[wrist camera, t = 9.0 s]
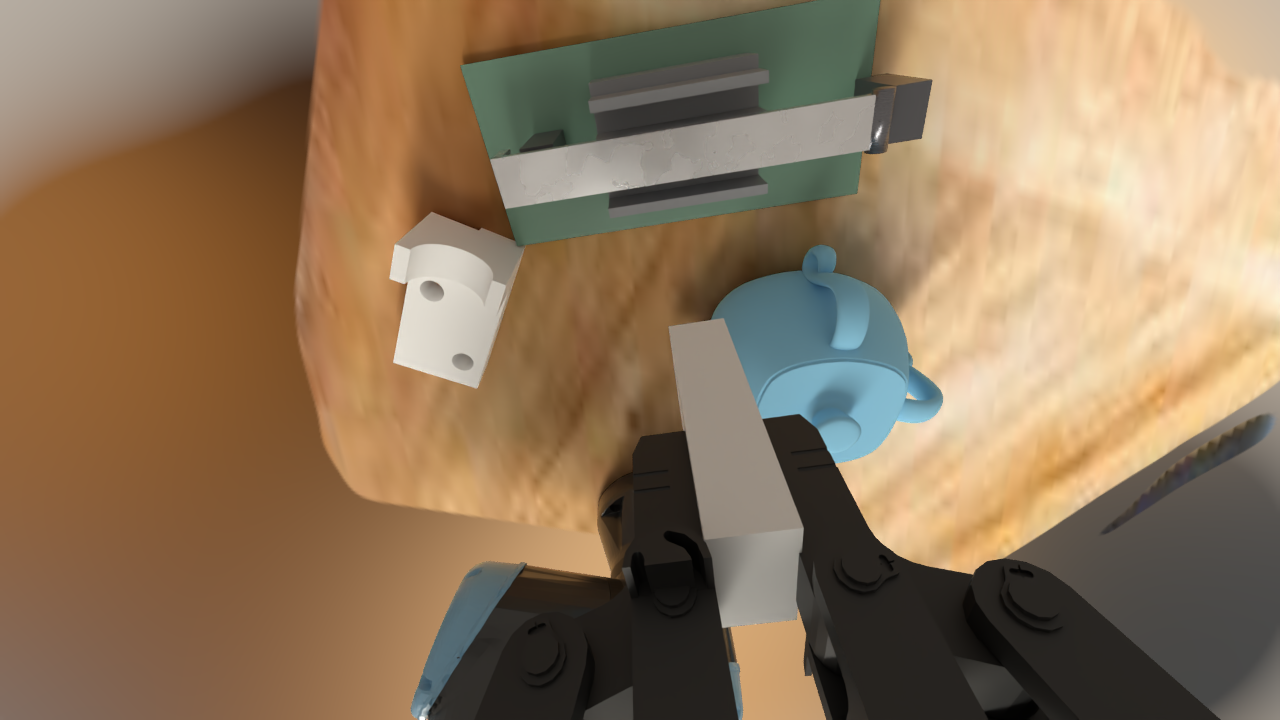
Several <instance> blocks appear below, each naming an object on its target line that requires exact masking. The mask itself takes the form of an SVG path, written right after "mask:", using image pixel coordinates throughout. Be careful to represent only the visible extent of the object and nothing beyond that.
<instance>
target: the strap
mask: <svg viewBox="0 0 1280 720" xmlns="http://www.w3.org/2000/svg"><path fill="white" fill-rule="evenodd" d="M895 94H896V86H885V87H878V88H874V89H872V91H871V94H866V95H860V96H854V97H848V98H842V99H836V100H830V101H824V102H818V103H812V104H806V105H800V106H795V107H789V108H783V109H777V110H771V111H765V112H759V113H753V114H747V115H741V116H735V117H729V118H723V119H718V120H712V121H706V122H700V123H694V124H688V125H682V126H676V127H670V128H664V129H658V130H652V131H646V132H641V133H635V134H629V135H623V136H617V137H611V138H605V139H599V140H593V141H587V142H581V143H575V144H569V145H564V146H558V147H552V148H546V149H540V150H534V151H528V152H522V153H516V154H511V150H510V149H506V150H500V151H499V152H498V153H497V154H496V155H495V156H494V157H493V158H491V159H490V161H491V164H492V167H493V171H494V174H495V177H496V180H497V183H498V187H499V190H500V193H501V196H502V199H503V202H504V206H505V209H508V208H514V207H520V206H526V205H533V204H539V203H545V202H551V201H557V200H564V199H570V198H576V197H582V196H588V195H595V194H601V193H607V192H613V191H619V190H625V189H632V188H638V187H644V186H650V185H656V184H663V183H669V182H675V181H681V180H687V179H694V178H700V177H706V176H712V175H718V174H725V173H731V172H737V171H743V170H749V169H755V168H762V167H768V166H774V165H780V164H786V163H793V162H799V161H805V160H811V159H817V158H824V157H830V156H836V155H842V154H848V153H854V152H861V151H864V153H866V154H880V153H884V152H886V151H887V148H888V141H889V134H890V128H891V121H892V114H893V107H894V101H895Z"/></svg>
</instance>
